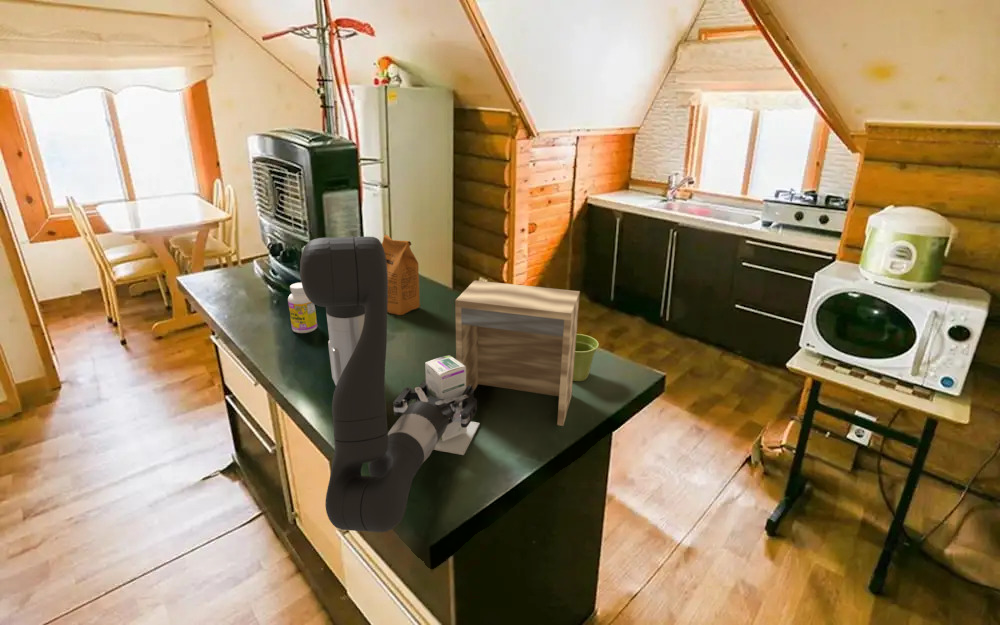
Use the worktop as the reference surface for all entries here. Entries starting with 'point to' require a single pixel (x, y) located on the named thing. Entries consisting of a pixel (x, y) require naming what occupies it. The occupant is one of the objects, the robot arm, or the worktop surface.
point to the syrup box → (446, 386)
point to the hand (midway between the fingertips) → (449, 386)
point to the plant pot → (583, 356)
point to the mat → (458, 441)
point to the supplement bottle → (301, 310)
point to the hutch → (518, 338)
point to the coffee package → (401, 276)
